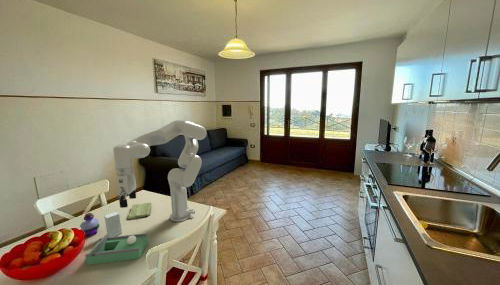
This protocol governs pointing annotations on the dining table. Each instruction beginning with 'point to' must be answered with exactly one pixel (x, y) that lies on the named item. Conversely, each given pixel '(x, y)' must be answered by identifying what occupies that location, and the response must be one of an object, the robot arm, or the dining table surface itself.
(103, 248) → the green
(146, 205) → the washcloth
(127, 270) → the dining table surface
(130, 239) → the ball
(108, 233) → the skincare box
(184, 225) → the dining table surface
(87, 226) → the purple rounded piece
